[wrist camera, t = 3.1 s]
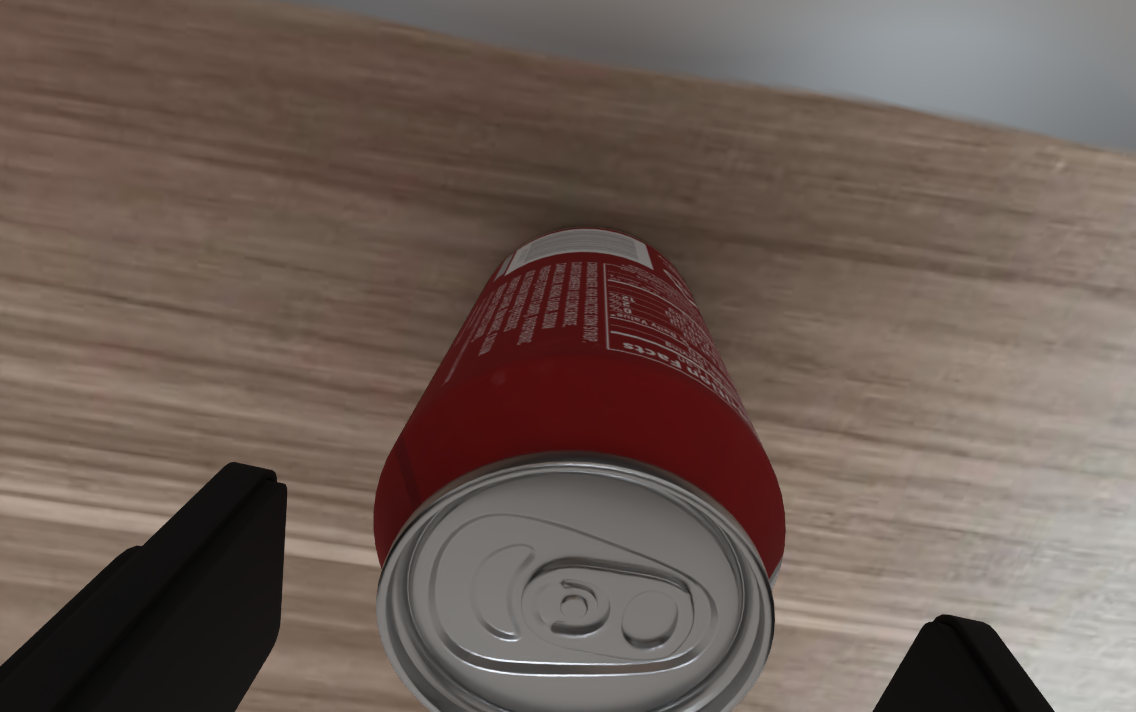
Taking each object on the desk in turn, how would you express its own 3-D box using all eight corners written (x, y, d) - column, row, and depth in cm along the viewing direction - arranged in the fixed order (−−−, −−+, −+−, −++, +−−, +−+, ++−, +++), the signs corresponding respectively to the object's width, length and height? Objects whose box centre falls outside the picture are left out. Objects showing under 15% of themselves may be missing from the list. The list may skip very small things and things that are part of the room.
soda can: (494, 201, 18) (336, 369, 7) (720, 243, 18) (904, 470, 7) (468, 403, 21) (323, 753, 10) (666, 439, 21) (742, 820, 10)
